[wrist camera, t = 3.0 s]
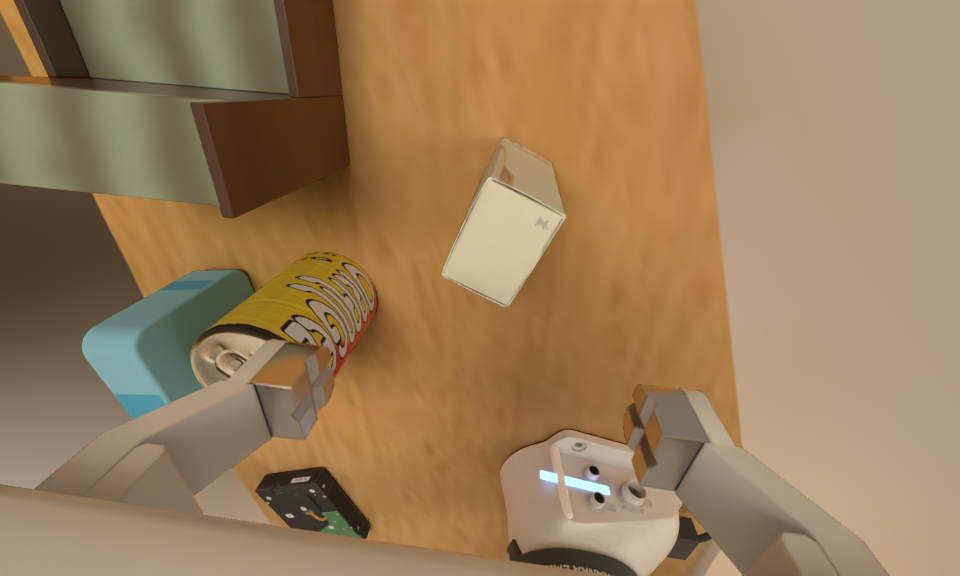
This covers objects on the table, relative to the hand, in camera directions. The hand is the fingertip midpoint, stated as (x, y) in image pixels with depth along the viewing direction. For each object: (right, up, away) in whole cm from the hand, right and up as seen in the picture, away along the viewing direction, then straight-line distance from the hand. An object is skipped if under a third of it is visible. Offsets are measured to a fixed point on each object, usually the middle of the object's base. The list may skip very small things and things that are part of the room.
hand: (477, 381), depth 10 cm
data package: (-25, 0, +29) cm, 38 cm away
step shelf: (-18, +20, +16) cm, 31 cm away
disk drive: (-24, -29, +45) cm, 58 cm away
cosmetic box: (+2, +11, +19) cm, 22 cm away
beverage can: (-14, +2, +26) cm, 30 cm away
